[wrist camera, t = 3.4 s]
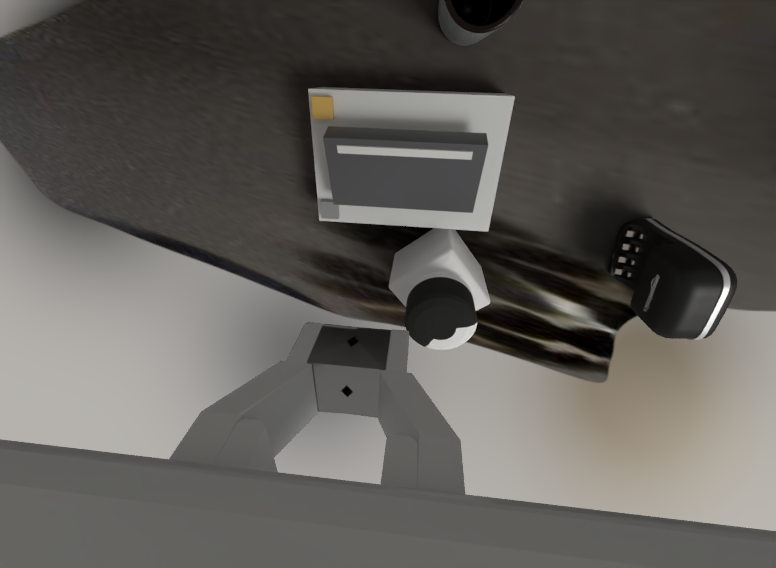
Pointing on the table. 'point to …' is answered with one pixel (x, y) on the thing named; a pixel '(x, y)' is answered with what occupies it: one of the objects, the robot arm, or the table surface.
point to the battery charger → (672, 280)
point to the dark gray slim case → (405, 168)
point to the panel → (411, 114)
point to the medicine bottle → (439, 289)
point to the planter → (474, 18)
